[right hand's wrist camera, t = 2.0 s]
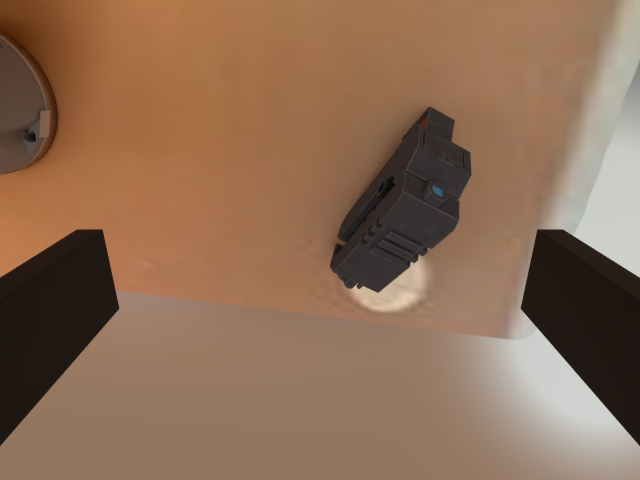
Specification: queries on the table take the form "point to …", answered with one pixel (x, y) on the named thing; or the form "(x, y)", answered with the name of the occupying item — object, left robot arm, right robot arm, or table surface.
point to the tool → (404, 206)
